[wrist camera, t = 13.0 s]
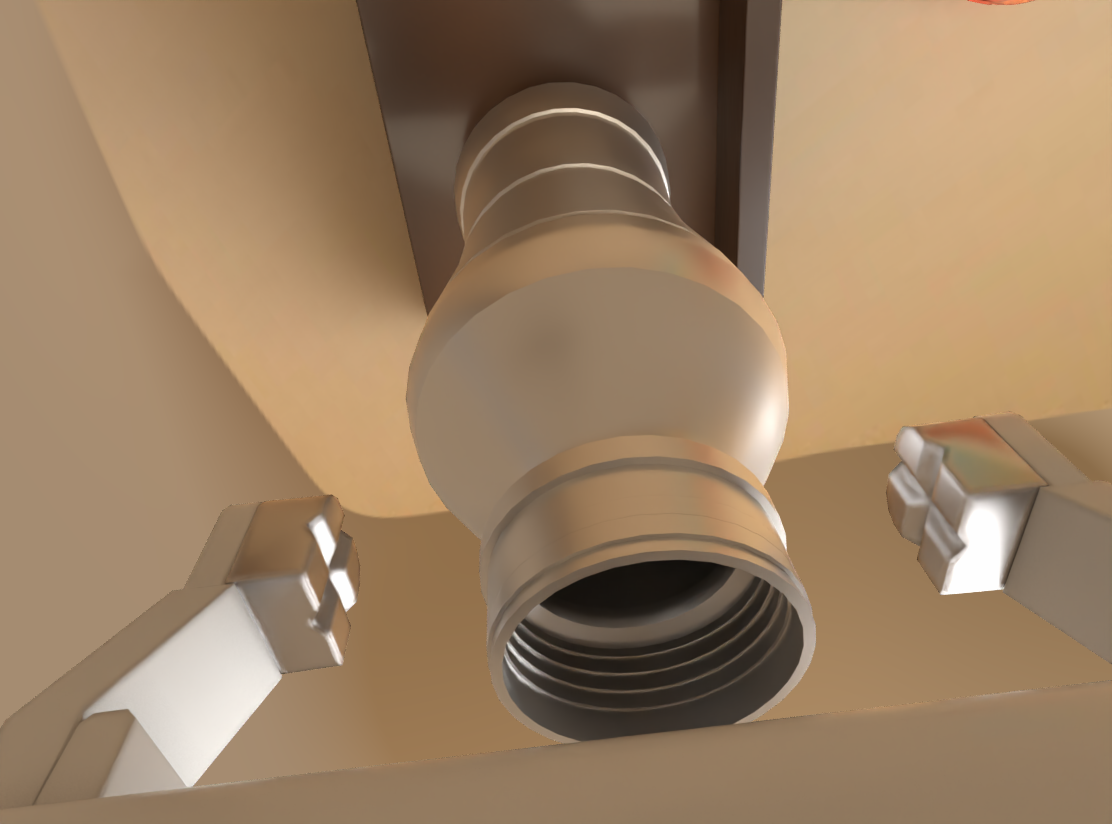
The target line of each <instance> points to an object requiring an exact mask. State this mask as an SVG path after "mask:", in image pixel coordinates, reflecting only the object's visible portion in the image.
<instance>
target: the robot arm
mask: <svg viewBox="0 0 1112 824" xmlns="http://www.w3.org/2000/svg"><path fill="white" fill-rule="evenodd" d="M894 450H895V452H896V453H897V455H898V456H899V457H900V459H901V460H902V461H901V462H900V463H899V464H898V465H897V466H896V467H895V468H894V469H893V470H892V472H891V473H890V474H889V478H888V484H887V490H886V495H887V502H888V509H889V513H890V515H891V518H892V521H893V523H894V525H895V527H896V528H897V530H898V531H899V533H900V535H901V536H902V537H903V538H905V539H907V540H909V541H911V542H912V543H914V544H916V545H918V546H920V548H919V553H918V557H917V560H918V562H919V563H920V565H921V566H922V568H923V569H924V571H925V572H926V574H927V575H928V577H929V578H930V580H931V581H932V583H933V584H934V586H935V587H936V589H937V590H938V592H939V593H940V595H944V594H955V593H967V592H978V591H989V590H999V589H1004V590H1003V593H1005V594H1006V595H1008V596H1009V597H1011V598H1012V599H1014V600H1016V601H1017V602H1019V603H1020V604H1022V605H1023V606H1025V607H1026V608H1028V609H1029V610H1031V611H1032V612H1034V613H1035V614H1037V615H1038V616H1040V617H1042V618H1043V619H1044V620H1046V621H1047V622H1049V623H1050V624H1052V625H1054V626H1055V627H1056V628H1058V629H1059V630H1061V631H1062V632H1064V633H1065V634H1067V635H1068V636H1070V637H1072V638H1073V639H1074V640H1076V641H1077V642H1079V643H1080V644H1082V645H1083V646H1085V647H1087V648H1088V649H1089V650H1091V651H1092V652H1094V653H1095V654H1097V655H1098V656H1100V657H1101V658H1103V659H1105V660H1106V661H1108V662H1109V663H1111V664H1112V483H1110V482H1107V481H1104V480H1100V481H1091V480H1090V479H1089V478H1087V477H1086V476H1085V475H1084V474H1083V473H1082V472H1081V471H1080V470H1079V469H1078V468H1077V467H1075V466H1074V465H1073V464H1072V463H1071V462H1070V461H1069V460H1068V459H1067V458H1066V457H1065V456H1064V455H1063V454H1062V453H1060V452H1059V451H1058V450H1057V449H1056V448H1055V447H1054V446H1053V445H1052V444H1051V443H1050V442H1049V441H1048V440H1047V439H1045V438H1044V437H1043V436H1042V435H1041V434H1040V433H1039V432H1038V431H1037V430H1036V429H1035V428H1034V427H1032V426H1031V425H1030V424H1029V423H1028V422H1027V421H1026V420H1025V419H1024V418H1023V417H1022V416H1020V415H1018V414H1016V413H1013V412H1010V411H1009V412H1002V413H995V414H988V415H981V416H974V417H973V418H967V419H959V420H951V421H943V422H935V423H927V424H919V425H911V426H903V427H902V428H901V430H900V431H899V433H898V435H897V437H896V442H895V447H894ZM343 519H344V513H343V510H342V508H341V505H340V503H339V500H338V498H336V497H335V496H333V495H323V496H311V497H301V498H291V499H281V500H270V501H264V502H254V503H245V504H236V505H230V506H228V507H227V508H225V509H224V510H223V511H222V512H221V514H220V516H219V518H218V520H217V522H216V524H215V526H214V528H213V530H212V532H211V534H210V536H209V538H208V540H207V542H206V544H205V546H204V548H203V550H202V552H201V554H200V556H199V558H198V560H197V562H196V565H195V567H194V569H193V571H192V573H191V575H190V576H189V578H188V581H187V583H186V585H185V587H184V589H182V590H174V591H171V592H170V593H169V594H167V595H166V596H165V597H164V598H163V599H161V600H160V601H159V602H157V603H156V604H155V605H153V606H152V607H151V608H149V609H148V610H147V611H146V612H144V613H143V614H142V615H140V616H139V617H138V618H137V619H135V620H134V621H133V622H131V623H130V624H129V625H128V626H126V627H125V628H124V629H122V630H121V631H120V632H118V633H117V634H116V635H115V636H113V637H112V638H111V639H110V640H108V641H107V642H106V643H104V644H103V645H102V646H100V647H99V648H98V649H97V650H96V651H94V652H93V653H91V654H90V655H89V656H88V657H86V658H85V659H84V660H82V661H81V662H80V663H79V664H77V665H76V666H75V667H73V668H72V669H71V670H70V671H68V672H67V673H66V674H64V675H63V676H62V677H61V678H59V679H58V680H57V681H55V682H54V683H53V684H52V685H50V686H49V687H48V688H46V689H45V690H44V691H43V692H41V693H40V694H39V695H38V696H36V697H35V698H33V699H32V700H31V701H30V702H28V703H27V704H26V705H24V706H23V707H22V708H21V709H19V710H18V711H17V712H16V713H14V714H13V715H12V716H10V717H9V718H8V719H6V720H5V722H4V723H3V725H2V727H1V728H0V824H1112V680H1108V681H1100V682H1091V683H1082V684H1074V685H1066V686H1057V687H1048V688H1040V689H1031V690H1022V691H1014V692H1005V693H996V694H988V695H979V696H971V697H962V698H953V699H946V700H936V701H927V702H919V703H910V704H902V705H894V706H884V707H876V708H867V709H859V710H850V711H841V712H833V713H825V714H816V715H807V716H799V717H790V718H782V719H773V720H764V721H756V722H747V723H738V724H730V725H721V726H712V727H704V728H695V729H687V730H678V731H669V732H661V733H652V734H644V735H635V736H626V737H618V738H609V739H600V740H592V741H583V742H575V743H566V744H557V745H549V746H540V747H532V748H523V749H515V750H506V751H497V752H489V753H480V754H472V755H463V756H454V757H446V758H438V759H428V760H420V761H412V762H403V763H395V764H385V765H377V766H369V767H360V768H351V769H343V770H335V771H325V772H317V773H308V774H300V775H291V776H283V777H274V778H265V779H257V780H248V781H241V782H240V781H239V782H231V783H222V784H214V785H205V786H197V787H192V786H193V785H194V784H195V783H196V782H197V780H198V779H199V778H200V777H201V775H202V774H203V773H204V772H205V771H206V769H207V768H208V767H209V766H210V765H211V763H212V762H213V761H214V760H215V758H216V757H217V756H218V755H219V754H220V752H221V751H222V750H223V749H224V747H225V746H226V745H227V744H228V743H229V741H230V740H231V739H232V738H233V736H234V735H235V734H236V733H237V732H238V730H239V729H240V728H241V727H242V726H243V724H244V723H245V722H246V721H247V719H248V718H249V717H250V716H251V715H252V713H253V712H254V711H255V710H256V709H257V707H258V706H259V705H260V704H261V702H262V701H263V700H264V699H265V697H266V696H267V695H268V694H269V693H270V691H271V690H272V689H273V688H274V687H275V685H276V684H277V683H278V682H279V680H280V679H281V678H282V676H281V674H285V673H292V672H299V671H306V670H313V669H319V668H326V667H333V666H340V665H342V664H343V660H344V655H345V651H346V646H347V642H348V638H349V633H350V629H351V625H350V622H349V620H348V617H347V614H346V611H347V610H348V609H349V608H350V607H351V606H352V605H353V604H354V603H355V602H356V601H357V596H358V591H359V586H360V564H359V558H358V553H357V549H356V546H355V543H354V540H353V538H352V537H350V536H349V535H348V534H346V533H345V532H343V531H342V530H341V527H342V523H343Z"/></svg>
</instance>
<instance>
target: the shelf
mask: <svg viewBox="0 0 1112 824" xmlns="http://www.w3.org/2000/svg"><path fill="white" fill-rule="evenodd" d="M356 3H357V7H358V12H359V16H360V21H361V25H362V29H363V34H364V38H365V43H366V47H367V51H368V56H369V60H370V65H371V69H372V73H373V78H374V82H375V87H376V91H377V96H378V100H379V104H380V109H381V113H382V118H383V122H384V126H385V131H386V135H387V140H388V144H389V148H390V153H391V157H392V162H393V166H394V171H395V175H396V179H397V184H398V188H399V193H400V197H401V201H402V206H403V210H404V215H405V219H406V223H407V228H408V232H409V237H410V241H411V245H412V250H413V254H414V259H415V263H416V268H417V272H418V276H419V281H420V285H421V290H422V294H423V298H424V303H425V307H426V312H427V316H428V315H429V313H430V311H431V310H432V308H433V306H434V305H435V303H436V302H437V300H438V299H439V297H440V295H441V294H442V292H443V290H444V288H445V287H446V285H447V283H448V282H449V280H450V278H451V277H452V275H453V273H454V272H455V270H456V268H457V267H458V265H459V262H460V259H461V256H462V253H463V249H464V246H465V241H464V239H463V236H462V232H461V229H460V226H459V222H458V218H457V212H456V206H455V195H454V182H455V173H456V166H457V163H458V160H459V157H460V154H461V151H462V148H463V146H464V144H465V142H466V141H467V139H468V137H469V135H470V134H471V132H472V130H473V129H474V127H475V126H476V125H477V124H478V123H479V122H480V120H481V119H482V118H483V117H484V116H485V115H486V114H487V113H488V112H489V111H490V110H491V109H492V108H494V107H495V106H497V105H498V104H499V103H501V102H502V101H503V100H505V99H506V98H508V97H510V96H512V95H514V94H516V93H518V92H520V91H523V90H525V89H527V88H529V87H533V86H537V85H542V84H546V83H558V82H574V83H580V84H585V85H591V86H595V87H598V88H600V89H603V90H605V91H608V92H610V93H613V94H615V95H617V96H618V97H620V98H621V99H623V100H624V101H626V102H627V103H628V104H630V105H631V106H633V107H634V108H635V109H636V110H637V111H638V112H639V113H640V114H641V115H642V116H643V117H644V119H645V120H646V121H647V122H648V123H649V125H650V126H651V128H652V130H653V131H654V133H655V134H656V136H657V138H658V139H659V142H660V144H661V147H662V150H663V153H664V156H665V159H666V164H667V170H668V177H669V184H670V192H671V195H670V203H671V206H672V208H673V209H674V211H675V212H676V213H677V215H678V216H679V217H680V219H681V220H682V221H683V222H684V223H685V224H686V225H688V226H689V227H690V228H691V229H693V230H694V231H695V232H696V233H698V234H699V235H700V236H701V237H703V238H704V239H705V240H706V241H708V242H709V243H710V244H711V245H713V246H714V247H715V248H717V249H718V250H720V251H721V252H722V253H723V254H724V255H725V256H726V257H727V258H728V259H729V260H730V261H731V262H732V263H733V264H734V265H735V266H736V267H737V268H738V269H739V270H740V271H741V272H742V273H743V274H744V276H745V277H746V278H747V279H748V280H749V281H750V283H751V284H752V285H753V286H754V287H755V288H756V289H757V290H758V291H759V292H760V294H761V295H762V297H763V299H764V283H765V267H766V251H767V234H768V218H769V202H770V186H771V170H772V154H773V138H774V122H775V106H776V90H777V74H778V58H779V42H780V26H781V10H782V0H356Z"/></svg>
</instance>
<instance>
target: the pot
mask: <svg viewBox="0 0 1112 824" xmlns="http://www.w3.org/2000/svg"><path fill="white" fill-rule="evenodd" d="M968 1H972V2H977V3H982V4H987V5H991V4H997V5H1014V4H1021V3H1026V2H1030V1H1034V0H968Z"/></svg>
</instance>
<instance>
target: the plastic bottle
mask: <svg viewBox="0 0 1112 824" xmlns="http://www.w3.org/2000/svg"><path fill="white" fill-rule="evenodd" d="M454 195H455V206H456V212H457V218H458V222H459V226H460V229H461V232H462V236H463V239H464V241H465V246H464V249H463V253H462V256H461V259H460V262H459V265H458V267H457V268H456V270H455V272H454V273H453V275H452V277H451V278H450V280H449V282H448V283H447V285H446V287H445V288H444V290H443V292H442V294H441V295H440V297H439V299H438V300H437V302H436V303H435V305H434V306H433V308H432V310H431V311H430V313H429V315H428V318H427V320H426V323H425V326H424V328H423V331H422V333H421V335H420V338H419V341H418V344H417V346H416V349H415V352H414V355H413V358H412V361H411V364H410V366H409V373H408V383H407V393H406V403H407V410H408V416H409V423H410V429H411V433H412V436H413V439H414V443H415V446H416V449H417V453H418V456H419V459H420V462H421V464H422V466H423V469H424V471H425V474H426V476H427V478H428V481H429V483H430V485H431V487H432V488H433V489H434V491H435V492H436V494H437V495H438V496H439V498H440V499H441V501H442V502H443V503H444V505H445V506H446V508H447V509H449V510H450V511H451V512H452V513H453V514H454V515H455V516H456V517H457V518H458V519H459V520H460V521H461V522H462V523H463V524H464V525H465V526H466V527H467V528H469V530H470V531H471V532H472V533H474V534H475V535H476V536H477V537H478V538H479V539H480V540H481V545H480V569H479V572H480V582H481V592H482V595H483V597H484V600H485V602H486V605H487V657H488V666H489V670H490V672H491V680H492V684H493V687H494V689H495V691H496V693H497V696H498V698H499V700H500V701H501V703H502V704H503V705H504V706H505V707H506V709H507V710H508V711H509V712H510V713H511V715H512V716H513V717H515V718H516V719H518V720H519V721H520V722H521V723H523V724H524V725H525V726H527V727H528V728H529V729H531V730H533V731H535V732H537V733H539V734H541V735H543V736H545V737H548V738H549V739H551V740H555V741H558V742H561V743H564V744H566V743H575V742H583V741H592V740H600V739H609V738H618V737H626V736H635V735H644V734H652V733H661V732H669V731H678V730H687V729H695V728H704V727H712V726H721V725H730V724H738V723H747V722H751V721H753V720H754V719H756V718H758V717H760V716H761V715H763V714H765V713H766V712H767V711H768V710H769V709H771V708H772V707H774V706H775V705H776V704H778V703H779V702H780V701H781V700H783V699H784V698H785V697H786V696H787V695H788V693H789V692H790V691H791V690H792V689H793V688H794V687H795V686H796V685H797V684H798V683H799V681H800V680H801V678H802V676H803V675H804V673H805V671H806V669H807V668H808V666H809V665H810V662H811V659H812V656H813V652H814V649H815V645H816V629H815V628H816V627H815V622H814V619H813V616H812V607H811V605H810V602H809V599H808V596H807V594H806V591H805V589H804V586H803V585H802V583H801V580H800V578H799V576H798V574H797V572H796V570H795V568H794V566H793V564H792V562H791V560H790V558H789V555H788V554H787V548H786V534H785V531H784V528H783V525H782V523H781V520H780V517H779V514H778V513H777V510H776V508H775V506H774V504H773V502H772V500H771V498H770V496H769V494H768V492H767V491H766V489H765V488H764V487H763V486H764V484H765V482H766V480H767V477H768V475H769V473H770V471H771V468H772V466H773V464H774V461H775V459H776V457H777V454H778V452H779V450H780V447H781V445H782V443H783V440H784V435H785V430H786V425H787V420H788V415H789V399H788V376H787V355H786V349H785V345H784V342H783V339H782V335H781V332H780V329H779V325H778V322H777V320H776V318H775V317H774V315H773V313H772V312H771V310H770V308H769V307H768V305H767V304H766V302H765V300H764V299H763V297H762V295H761V294H760V292H759V291H758V290H757V289H756V288H755V287H754V286H753V285H752V284H751V283H750V281H749V280H748V279H747V278H746V277H745V276H744V274H743V273H742V272H741V271H740V270H739V269H738V268H737V267H736V266H735V265H734V264H733V263H732V262H731V261H730V260H729V259H728V258H727V257H726V256H725V255H724V254H723V253H722V252H721V251H720V250H718V249H717V248H715V247H714V246H713V245H711V244H710V243H709V242H708V241H706V240H705V239H704V238H703V237H701V236H700V235H699V234H698V233H696V232H695V231H694V230H693V229H691V228H690V227H689V226H688V225H686V224H685V223H684V222H683V221H682V220H681V219H680V217H679V216H678V215H677V213H676V212H675V211H674V209H673V208H672V206H671V203H670V195H671V192H670V184H669V177H668V170H667V164H666V159H665V156H664V153H663V150H662V147H661V144H660V142H659V139H658V138H657V136H656V134H655V133H654V131H653V130H652V128H651V126H650V125H649V123H648V122H647V121H646V120H645V119H644V117H643V116H642V115H641V114H640V113H639V112H638V111H637V110H636V109H635V108H634V107H633V106H631V105H630V104H628V103H627V102H626V101H624V100H623V99H621V98H620V97H618V96H617V95H615V94H613V93H610V92H608V91H605V90H603V89H600V88H598V87H595V86H591V85H585V84H580V83H574V82H558V83H546V84H542V85H537V86H533V87H529V88H527V89H525V90H523V91H520V92H518V93H516V94H514V95H512V96H510V97H508V98H506V99H505V100H503V101H502V102H501V103H499V104H498V105H497V106H495V107H494V108H492V109H491V110H490V111H489V112H488V113H487V114H486V115H485V116H484V117H483V118H482V119H481V120H480V122H479V123H478V124H477V125H476V126H475V127H474V129H473V130H472V132H471V134H470V135H469V137H468V139H467V141H466V142H465V144H464V146H463V148H462V151H461V154H460V157H459V160H458V163H457V166H456V173H455V182H454Z"/></svg>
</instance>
